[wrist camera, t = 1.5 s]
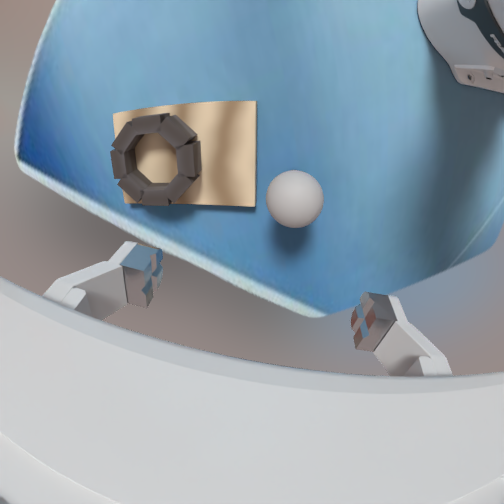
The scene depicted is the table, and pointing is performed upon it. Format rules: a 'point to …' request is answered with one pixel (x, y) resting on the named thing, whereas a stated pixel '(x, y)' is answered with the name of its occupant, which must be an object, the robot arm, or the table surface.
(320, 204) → the lightbulb
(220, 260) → the table surface
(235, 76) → the table surface
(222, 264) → the table surface
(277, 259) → the table surface
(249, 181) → the socket board
